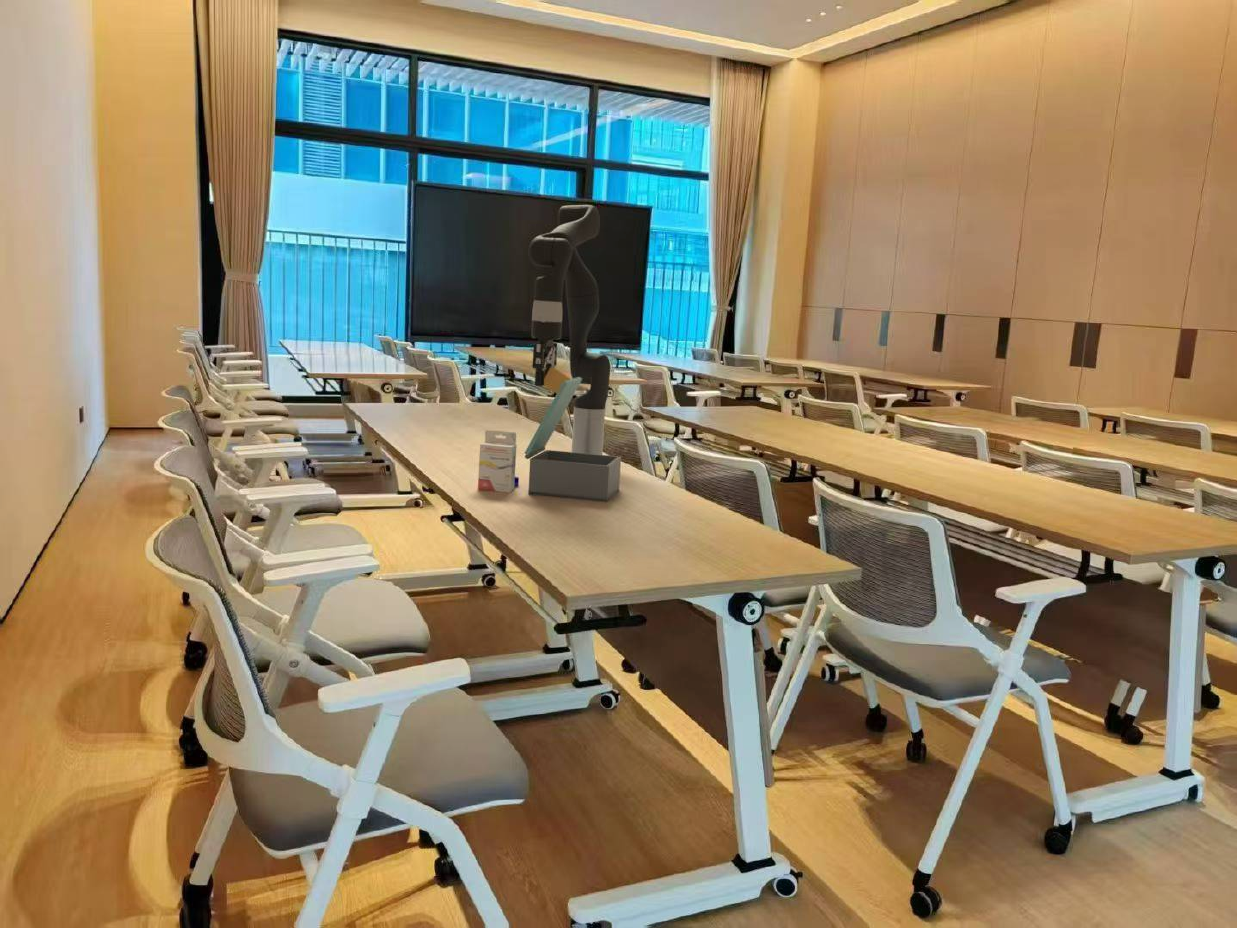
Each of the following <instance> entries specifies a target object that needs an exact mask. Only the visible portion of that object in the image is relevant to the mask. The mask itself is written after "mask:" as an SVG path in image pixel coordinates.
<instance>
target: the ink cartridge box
mask: <svg viewBox="0 0 1237 928" xmlns="http://www.w3.org/2000/svg"><path fill="white" fill-rule="evenodd" d="M500 435H501V436H502V438H501V437H496V436H500ZM484 437H485V439H484V442H482V443H480V444H479V460H478V477H477V478H478V479H477V490H479V491H480V490H481V491H489V492H490V491H491V492H500V493H512V491H514V490H515V487H514V481H515V477H516V463H517V462H516V460H517V433H516V432H514V431H513V432H510V431H503V430H502V431H501V430H489V429H487V430H485V432H484ZM504 437H505V438H504Z"/></svg>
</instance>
